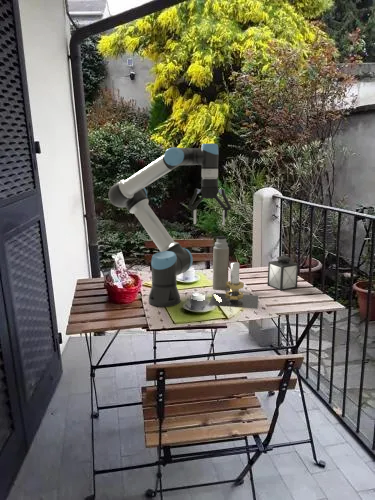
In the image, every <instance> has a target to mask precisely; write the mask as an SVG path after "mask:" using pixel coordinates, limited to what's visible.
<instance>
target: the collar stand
mask: <svg viewBox="0 0 375 500" xmlns="http://www.w3.org/2000/svg"><path fill="white" fill-rule="evenodd" d="M244 286H245V284H244V282H242V281H240V280H239V285H230V280H228V282H226V287H227V288H228V290H229V291H226V292H225V293H220V292H213V294H216V295H218V296H219V297H221V299H222V302H220V303H219V302H218V301H216V299H215V298H214V296H213V294H212V295H211V297H210V301H209V303H208V306H215V307H216V306H217V307H229V308H242V309H243V308H244V309H245V308H246V309H258V308H259V307H258V304H259V295H257V294H256V295H253V294H244V292H242V291H239V295H238V296H232V295H230V289H239V290H241V289H244V288H245V287H244ZM230 299H233V300H238V301H236V302H233V301H230Z"/></svg>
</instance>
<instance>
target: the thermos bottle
mask: <svg viewBox="0 0 375 500" xmlns="http://www.w3.org/2000/svg"><path fill="white" fill-rule="evenodd" d="M228 245H229V243H228V242H227V236H225V235H217V236H216V241H215V242H214V246H213V251H212V252H213V254H212V256H213V257H212V264H213V265H212V272H213V273H212V290H214V291H226V292H227V290H229V288H227V287H226V282H229V261H230V260H229V258H230V256H229V255H230V247H229V246H228Z"/></svg>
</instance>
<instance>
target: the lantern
mask: <svg viewBox="0 0 375 500" xmlns="http://www.w3.org/2000/svg"><path fill="white" fill-rule="evenodd" d="M283 240H286V235H284V237H283ZM285 252H286V247H285V245H283V250H282V255H279V256H277V257H276V259H277V260H273V261H268V262H267V263H268V267H267V270H268V271H267V286H268V287H271V288H273V289H275V290H278V291H280V292H283V291H288V290H292V289H298V280H299V278H298V276H299V263H296V262H293V261H290V260H291V257H289V256H286V255H285V254H286V253H285Z"/></svg>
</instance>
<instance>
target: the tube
mask: <svg viewBox="0 0 375 500" xmlns="http://www.w3.org/2000/svg"><path fill="white" fill-rule="evenodd" d="M229 279H230V280H229V281H230V285H239V281H240V262H237V261H233V262H230V277H229ZM239 290H240V289H229V291H230V295H232V296H238V295H239V292H240V291H239ZM230 301H233V302H236V301H238V300H233V299H230Z"/></svg>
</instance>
